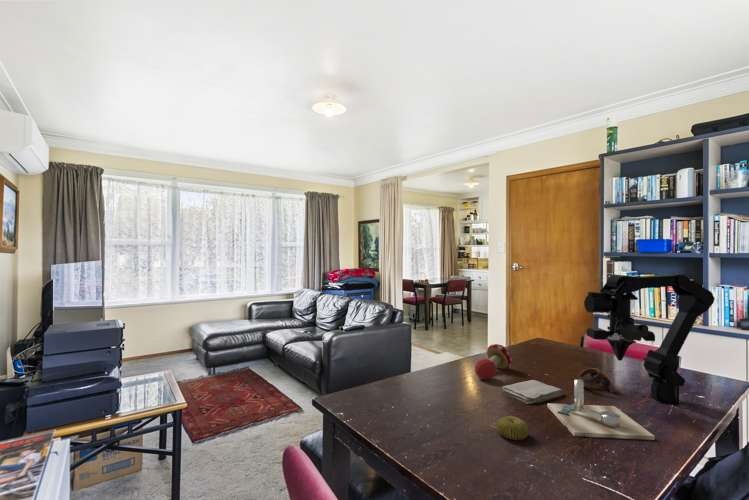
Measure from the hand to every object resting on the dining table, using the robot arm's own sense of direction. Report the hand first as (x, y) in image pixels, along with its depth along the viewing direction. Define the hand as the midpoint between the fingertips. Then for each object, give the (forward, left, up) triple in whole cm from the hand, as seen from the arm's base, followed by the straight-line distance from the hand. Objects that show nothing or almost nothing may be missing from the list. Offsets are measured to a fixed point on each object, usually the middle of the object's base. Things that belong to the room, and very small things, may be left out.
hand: (619, 360), depth 119 cm
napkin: (+16, +17, -13) cm, 27 cm away
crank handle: (+17, +18, -12) cm, 27 cm away
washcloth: (+27, -2, -14) cm, 31 cm away
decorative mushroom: (+34, -26, -13) cm, 45 cm away
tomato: (+40, -15, -13) cm, 45 cm away
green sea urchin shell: (+42, +27, -13) cm, 52 cm away
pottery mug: (+2, -10, -13) cm, 17 cm away
